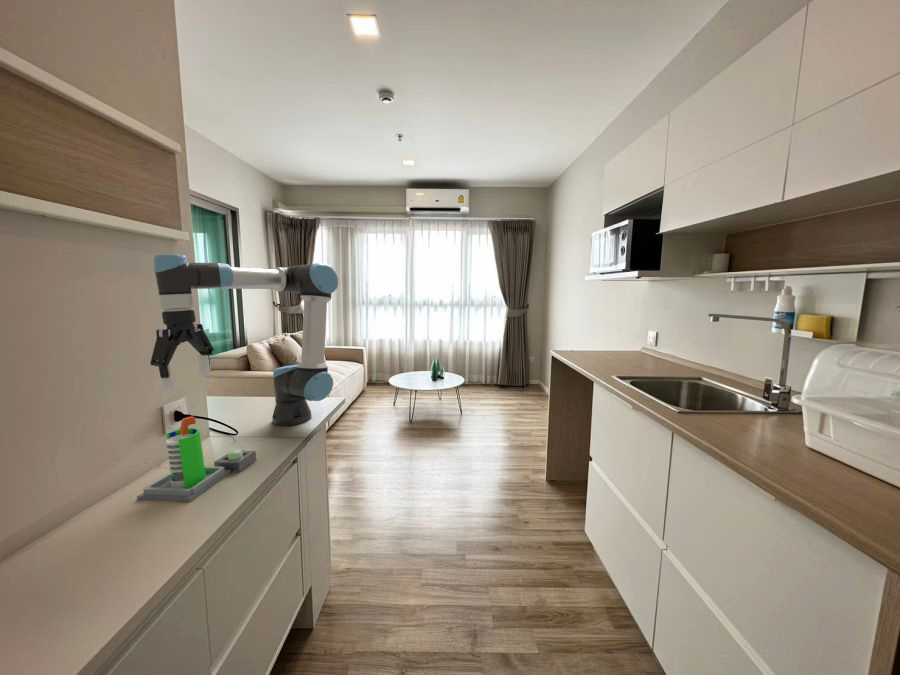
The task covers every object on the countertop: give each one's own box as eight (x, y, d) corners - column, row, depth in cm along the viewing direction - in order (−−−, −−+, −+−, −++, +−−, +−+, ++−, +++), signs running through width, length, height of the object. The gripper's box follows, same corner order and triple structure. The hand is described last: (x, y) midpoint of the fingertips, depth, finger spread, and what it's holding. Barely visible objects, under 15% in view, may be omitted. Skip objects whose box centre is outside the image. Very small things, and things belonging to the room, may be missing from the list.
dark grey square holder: (233, 459, 117) (232, 450, 116) (256, 459, 116) (255, 450, 116) (215, 471, 109) (213, 462, 109) (239, 472, 108) (238, 462, 108)
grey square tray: (184, 471, 109) (183, 463, 109) (230, 472, 108) (229, 465, 108) (137, 499, 95) (136, 491, 94) (190, 501, 93) (188, 493, 93)
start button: (234, 461, 115) (233, 449, 114) (246, 461, 114) (245, 449, 114) (225, 467, 111) (224, 454, 110) (237, 467, 110) (236, 455, 110)
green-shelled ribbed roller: (162, 485, 100) (153, 423, 97) (191, 471, 107) (184, 413, 105) (184, 491, 96) (176, 426, 94) (213, 476, 104) (206, 416, 101)
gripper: (198, 307, 115) (208, 371, 119) (123, 314, 91) (138, 395, 94) (221, 306, 115) (229, 371, 118) (151, 313, 90) (164, 394, 93)
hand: (189, 382), depth 106 cm, fingers open, 13 cm apart
